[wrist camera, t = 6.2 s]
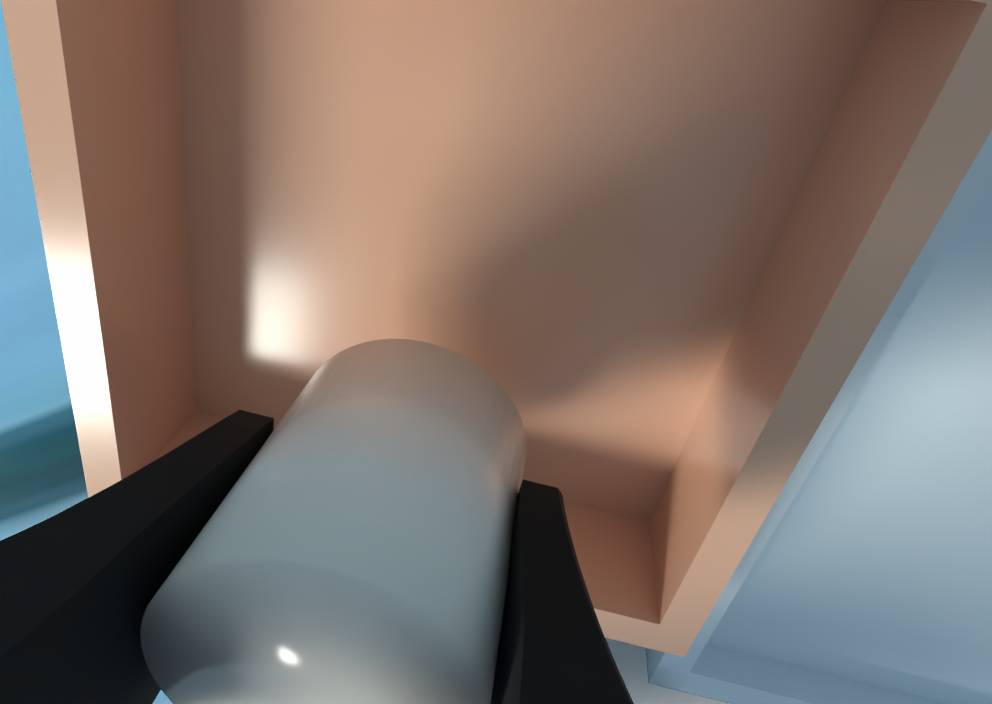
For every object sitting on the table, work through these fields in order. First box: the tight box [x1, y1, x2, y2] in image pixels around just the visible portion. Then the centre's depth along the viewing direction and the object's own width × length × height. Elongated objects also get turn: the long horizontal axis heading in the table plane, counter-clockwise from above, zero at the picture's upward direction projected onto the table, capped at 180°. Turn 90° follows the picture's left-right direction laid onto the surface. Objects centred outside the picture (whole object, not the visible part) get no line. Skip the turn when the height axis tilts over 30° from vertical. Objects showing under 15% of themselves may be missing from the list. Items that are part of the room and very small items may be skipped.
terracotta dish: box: [1, 0, 992, 657], centre depth 12 cm, size 13×13×4 cm
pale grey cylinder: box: [140, 339, 526, 704], centre depth 10 cm, size 4×4×5 cm
